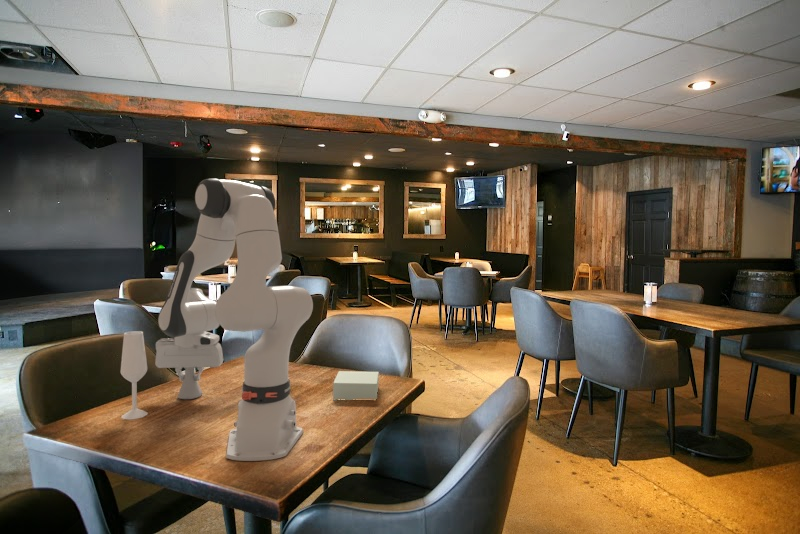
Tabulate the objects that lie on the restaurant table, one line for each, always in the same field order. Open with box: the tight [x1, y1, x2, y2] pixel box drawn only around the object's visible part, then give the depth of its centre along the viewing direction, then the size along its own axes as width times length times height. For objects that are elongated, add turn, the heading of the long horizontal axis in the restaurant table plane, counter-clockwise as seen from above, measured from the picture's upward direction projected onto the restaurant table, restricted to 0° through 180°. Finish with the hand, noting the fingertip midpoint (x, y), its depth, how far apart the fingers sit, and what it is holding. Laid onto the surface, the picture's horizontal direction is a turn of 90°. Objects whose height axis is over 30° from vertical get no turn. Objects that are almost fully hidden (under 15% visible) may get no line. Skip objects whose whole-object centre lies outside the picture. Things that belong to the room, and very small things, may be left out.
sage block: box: [332, 370, 380, 401], centre depth 157 cm, size 14×14×6 cm
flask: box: [177, 367, 203, 400], centre depth 151 cm, size 7×7×10 cm
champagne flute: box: [120, 330, 149, 420], centre depth 134 cm, size 7×7×24 cm
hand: (189, 380), depth 151 cm, fingers open, 3 cm apart
